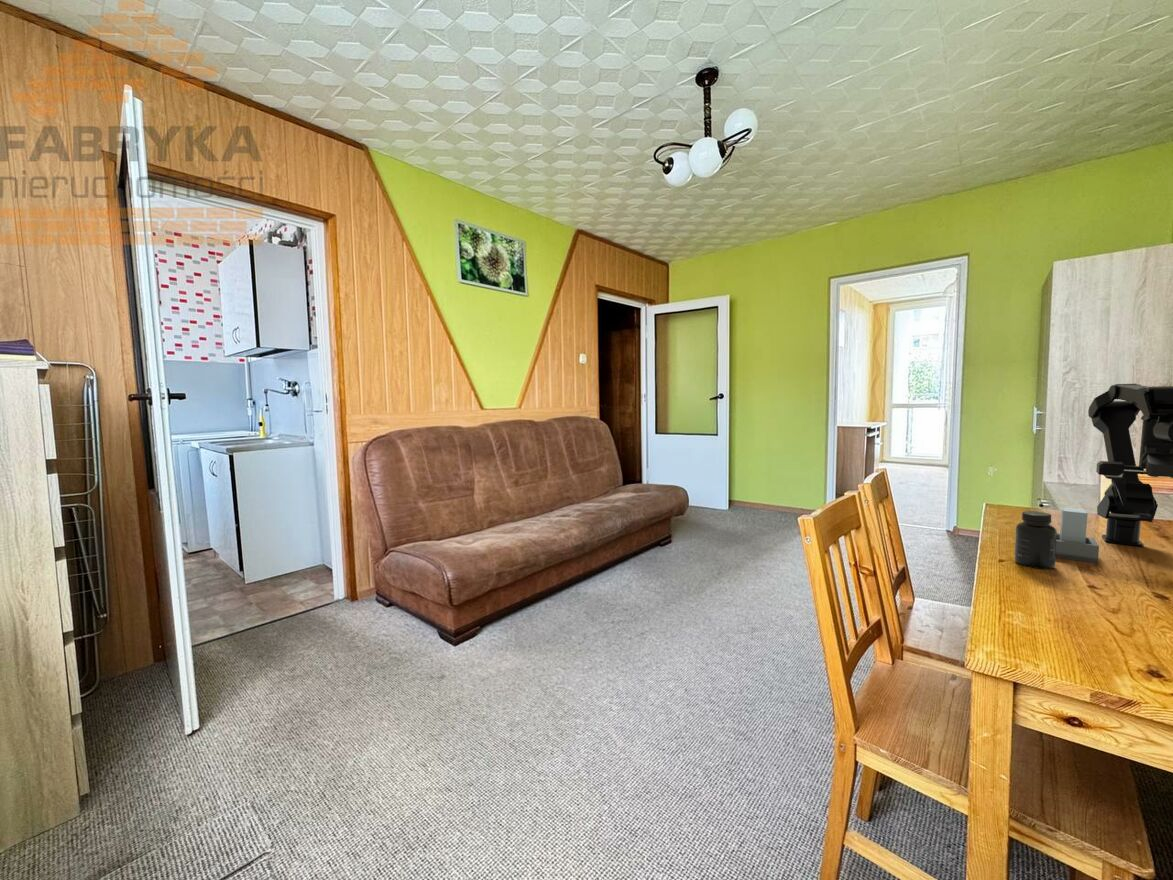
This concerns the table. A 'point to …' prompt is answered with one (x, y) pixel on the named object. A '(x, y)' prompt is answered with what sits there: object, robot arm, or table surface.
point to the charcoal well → (1078, 550)
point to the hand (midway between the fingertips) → (1153, 507)
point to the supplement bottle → (1035, 541)
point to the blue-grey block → (1073, 525)
